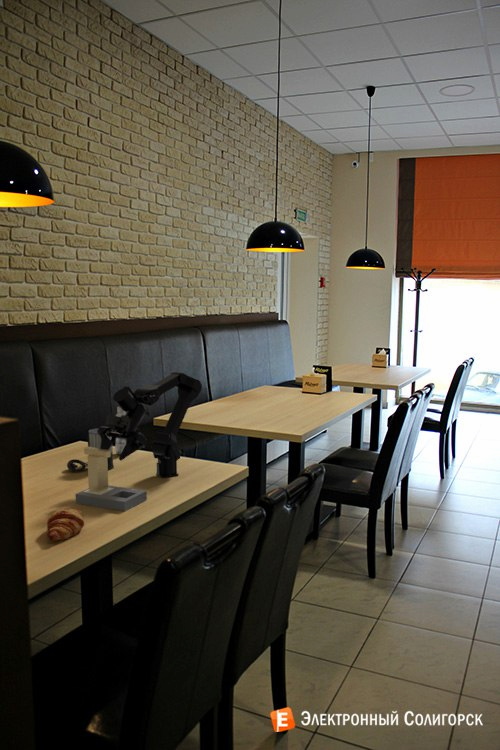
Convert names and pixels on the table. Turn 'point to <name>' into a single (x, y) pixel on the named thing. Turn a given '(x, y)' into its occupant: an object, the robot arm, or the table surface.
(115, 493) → the board
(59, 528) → the croissant
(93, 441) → the milk frother
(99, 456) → the t key
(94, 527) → the table surface
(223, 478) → the table surface
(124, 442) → the plastic bottle
